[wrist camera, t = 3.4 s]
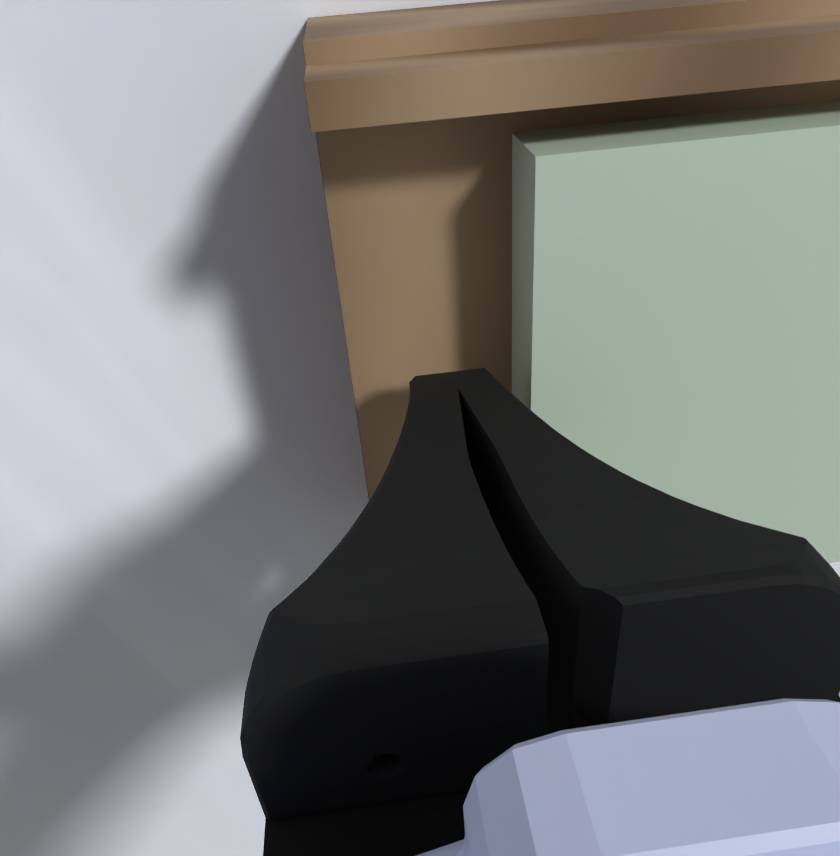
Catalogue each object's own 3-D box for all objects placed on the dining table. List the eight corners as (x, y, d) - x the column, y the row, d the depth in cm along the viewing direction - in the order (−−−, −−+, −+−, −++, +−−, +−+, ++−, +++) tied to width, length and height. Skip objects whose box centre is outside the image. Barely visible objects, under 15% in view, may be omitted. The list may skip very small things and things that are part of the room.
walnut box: (375, 506, 20) (390, 669, 16) (307, 17, 13) (299, 55, 9) (720, 462, 21) (831, 608, 16) (822, -30, 14) (1064, -17, 9)
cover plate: (511, 553, 16) (526, 604, 15) (512, 132, 11) (536, 155, 10) (810, 514, 17) (849, 560, 15) (943, 89, 11) (1018, 106, 10)
